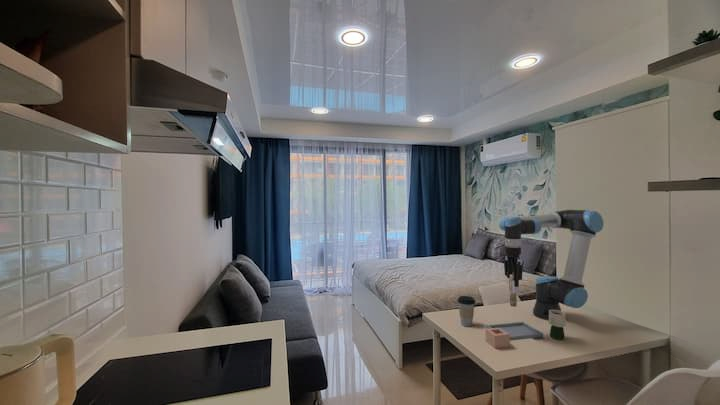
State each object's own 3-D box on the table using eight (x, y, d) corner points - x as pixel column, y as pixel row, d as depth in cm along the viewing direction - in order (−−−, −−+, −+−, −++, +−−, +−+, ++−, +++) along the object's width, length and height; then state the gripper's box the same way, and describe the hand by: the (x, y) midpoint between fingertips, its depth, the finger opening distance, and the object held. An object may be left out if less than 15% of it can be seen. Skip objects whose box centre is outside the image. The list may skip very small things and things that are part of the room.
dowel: (513, 304, 162) (513, 274, 162) (517, 306, 159) (517, 275, 159) (508, 304, 161) (508, 274, 161) (512, 306, 159) (512, 275, 158)
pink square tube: (499, 341, 152) (499, 327, 152) (509, 348, 145) (509, 334, 145) (485, 343, 151) (485, 328, 151) (494, 350, 144) (494, 335, 144)
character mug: (558, 333, 160) (558, 308, 160) (571, 339, 154) (571, 313, 153) (542, 336, 157) (542, 311, 156) (556, 342, 150) (555, 316, 150)
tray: (522, 325, 170) (522, 321, 170) (543, 338, 155) (543, 333, 155) (486, 329, 166) (486, 325, 166) (503, 342, 151) (503, 337, 151)
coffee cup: (464, 320, 179) (464, 294, 179) (479, 325, 172) (478, 298, 171) (454, 324, 174) (453, 297, 174) (468, 329, 166) (468, 302, 166)
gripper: (496, 244, 167) (497, 287, 167) (516, 249, 151) (517, 296, 152) (509, 243, 168) (509, 286, 169) (530, 248, 152) (530, 295, 153)
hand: (513, 291), depth 160 cm, fingers closed on dowel, 3 cm apart
